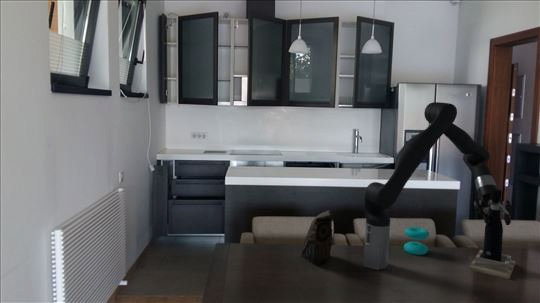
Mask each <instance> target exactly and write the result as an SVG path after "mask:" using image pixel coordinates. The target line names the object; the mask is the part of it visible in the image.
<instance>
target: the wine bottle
mask: <svg viewBox="0 0 540 303" xmlns="http://www.w3.org/2000/svg"><path fill="white" fill-rule="evenodd" d="M502 191H503V190H502V189H498V188H497V189H491V195H490V198H492V203H493V204H491V208H490V211H489V214H488V215H489V218H490V222H491V223H490V224H489V225H487V224H486V223H485V225H484V226H485V227H484V236H483V237H484V238H483V239H484V240H483V250H484V253H483V258H485V259H490V260H494V261H499V262H501V254H503V252H502V250H503V237H504V236H503V235H504V234H503V233H504V228H503V222H502V219H501V218H502V217H501V214H500V210H501V208H500V205H499V199H501V200H502V193H503V192H502Z"/></svg>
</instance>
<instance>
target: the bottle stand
mask: <svg viewBox="0 0 540 303" xmlns="http://www.w3.org/2000/svg"><path fill="white" fill-rule="evenodd" d="M483 253H484V249H480V250H479V251H478V252H477V254H475V257H474V259H473V260H472V261H471V263H470V264H469V268H468V270H469V271H472V272H476V273H480V274H484V275H488V276H489V275H490V276H493V277H497V278H500V279H501V278H502V279H506V280H510V279H511V276H512V273H513V272H514V269H515V266H516V261H515V260H512V255H509V254H504V253H501V262H499V261H494V260H490V259H485V258H483Z"/></svg>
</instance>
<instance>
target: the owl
mask: <svg viewBox="0 0 540 303" xmlns="http://www.w3.org/2000/svg"><path fill="white" fill-rule="evenodd" d="M333 221H334V219H333V217H332V213H331V210H330V209H328V210H326V211H323V212H321V213H319V214H318V215H316V216H315V217H314V218H313V220H312V221H311V223H310V226H309V228H308V230H307V233H306V236H305V239H304V242H303V245H302V249H301V255H300V257H302V258H303V259H305V260H306V261H308V262H310V263H311V264H312V265H314V266H323V265H327V263H329V260H331V249H332V246H333V243H332V240H333V227H332V225H333Z"/></svg>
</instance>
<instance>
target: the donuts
mask: <svg viewBox="0 0 540 303" xmlns="http://www.w3.org/2000/svg"><path fill="white" fill-rule="evenodd" d="M404 233H405V235H406V236H407V238H409V239H412V240H416V241H408V242H406V243H405V244H403V249H404V251H406V252H407V253H408V254H412V255H417V256H421V255H422V256H423V255H425V254H427V253H428V251H429V248H428V246H427V245H426V244H425V243H422V242H420V240H421V241H423V240H425V239H426V240H427V239H428V238H429V236H430V232H429V231H428V229H425V228H422V227H417V226H410V227H407V228H406V229H405V231H404ZM417 240H419V242H418V241H417Z"/></svg>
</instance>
